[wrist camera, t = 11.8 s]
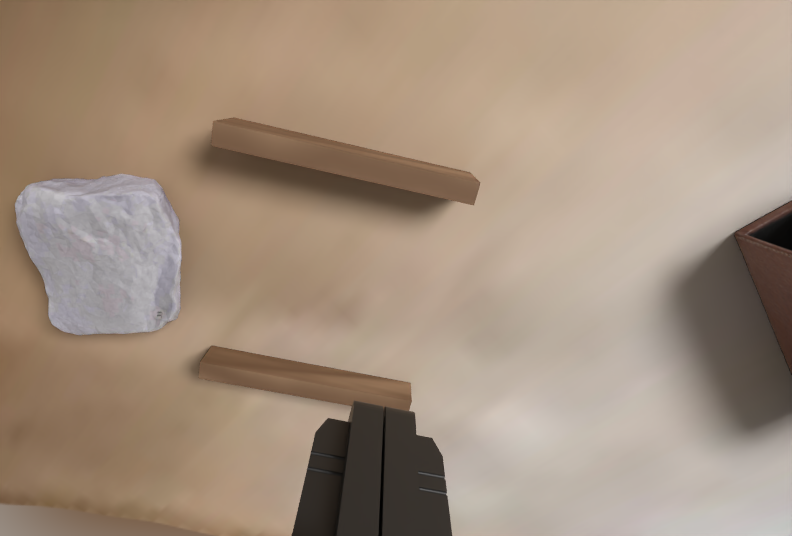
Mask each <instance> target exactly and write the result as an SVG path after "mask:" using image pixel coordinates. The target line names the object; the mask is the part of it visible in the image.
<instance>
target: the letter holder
mask: <svg viewBox="0 0 792 536" xmlns="http://www.w3.org/2000/svg"><path fill="white" fill-rule="evenodd" d="M734 234H735V238H736V239H737V242H738V245H739V247H740V250H741V252H742V254H743V257H744V259H745V261H746V265H747V266H748V269H749V271H750V274H751V276H752V278H753V281H754V283H755V286H756V289H757V290H758V293H759V295H760V298H761V301H762V303H763V305H764V308H765V311H766V313H767V315H768V318H769V320H770V323H771V325H772V328H773V330H774V333H775V335H776V337H777V340H778V343H779V345H780V347H781V350H782V352H783V354H784V357H785V360H786V362H787V364H788V366H789V369H790V371H791V374H792V201H791V202H789V203H787V204H785V205H783V206H782V207H780V208H778V209H776V210H775V211H773V212H770V213H769V214H767V215H765V216H764V217H762V218H760V219H758V220H756V221H755V222H753V223H751V224H749V225H747V226H745V227H744V228H742V229H740V230H738V231H736V232H735V233H734Z"/></svg>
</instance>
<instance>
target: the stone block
mask: <svg viewBox="0 0 792 536" xmlns="http://www.w3.org/2000/svg"><path fill="white" fill-rule="evenodd" d="M15 211H16V215H17V222H16V223H17V226H18V229H19V231H20V235H21V237H22V239H23V242H24V245H25V248H26V249H27V251H28V254H29V256H30V258H31V259H32V261H33V263H34V264H35V265H36V267H37V268H38V270H39V272H40V274H41V276H42V278H43V280H44V283H45V290H46V293H47V295H48V297H49V310H48V315H49V319H50V321H51V323H52V325H54V326H55V327H56V328H58V329H60V330H62V331H64V332H68V333H72V334H76V335H83V334H87V335H91V334H102V333H104V334H112V333H120V334H127V333H139V332H150V331H155V330H158V329H161V328H162V327H164V326H165V325H166V323H167V322H170V321H173V320H176V319H177V318H178V314H179V312H180V309H181V307H180V280H181V276H180V273H181V272H180V266H181V261H182V258H181V240H180V236H179V218H178V217H177V216H176V214H175V212H174V210H173V208H172V206H171V204H170V202H169V200H168V199H167V197H166V195H165V193H164V191H163V188H162V187H161V186H160V185H159V184H158V183H157V181H155V180H153V179H149V178H141V177H136V176H132V175H126V174H119V175H114V176H108V177H105V176H103V177H101V178H99V179H96V180H92V179H90V180H86V179H52V180H48V181H40V182H37V183H32V184H29V185H27V186H26V187H25V190H24V191H22V193H21V194H20V195H19V196H18V198H17V201H16V203H15Z"/></svg>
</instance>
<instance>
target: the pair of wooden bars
mask: <svg viewBox="0 0 792 536" xmlns="http://www.w3.org/2000/svg"><path fill="white" fill-rule="evenodd" d="M211 146H214V147H218V148H223V149H227V150H232V151H236V152H240V153H245V154H249V155H254V156H258V157H263V158H267V159H271V160H276V161H280V162H285V163H289V164H293V165H298V166H302V167H307V168H311V169H316V170H320V171H324V172H329V173H333V174H338V175H342V176H346V177H351V178H355V179H360V180H364V181H369V182H373V183H377V184H382V185H386V186H391V187H395V188H400V189H404V190H408V191H413V192H417V193H422V194H426V195H430V196H435V197H439V198H444V199H448V200H453V201H457V202H461V203H466V204H470V205H474V203H475V200H476V196H477V193H478V190H479V186H480V182H479V181H478V180H477V179H476V178H475V177H474V176H473V175H472V174H471V173H470V172H465V171H461V170H457V169H453V168H448V167H444V166H440V165H435V164H431V163H427V162H422V161H418V160H414V159H410V158H405V157H401V156H397V155H392V154H388V153H384V152H380V151H375V150H371V149H367V148H362V147H358V146H354V145H349V144H345V143H341V142H337V141H332V140H328V139H324V138H319V137H315V136H311V135H307V134H302V133H298V132H294V131H289V130H285V129H281V128H276V127H272V126H268V125H264V124H259V123H255V122H251V121H246V120H242V119H238V118H229V119H223V120H217V121H213V128H212V140H211ZM199 378H200V379H206V380H211V381H217V382H222V383H228V384H234V385H239V386H245V387H250V388H256V389H261V390H267V391H272V392H278V393H283V394H289V395H294V396H300V397H305V398H311V399H317V400H322V401H328V402H333V403H339V404H344V405H350V406H352V405H353V401H354V400H355V401H360V402H365V403H370V404H375V405H380V406H383V409H384V407H385V406H386V407H391V408H396V409H401V410H406V411H409V409H410V405H411V402H412V398H411V384H410V383H408V382H403V381H397V380H392V379H387V378H381V377H376V376H371V375H365V374H360V373H355V372H349V371H344V370H339V369H333V368H328V367H323V366H317V365H312V364H307V363H301V362H296V361H291V360H285V359H280V358H275V357H269V356H264V355H259V354H253V353H248V352H243V351H237V350H232V349H227V348H221V347H216V346H211V347H210V349H209V350H208V352H207V353H206V354H205V356H204V357H203V359H202V360H201V362H200V368H199Z"/></svg>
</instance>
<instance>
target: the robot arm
mask: <svg viewBox="0 0 792 536" xmlns="http://www.w3.org/2000/svg"><path fill="white" fill-rule="evenodd" d="M444 477H445V473H444V465H443V456H442V455H441V453H440V451H439V449H438V448H437V446H436V444H435V442H434V441H433V439H432V438H429V437H424V436H418V435H416V422H415V413H414V412H411V411H406V410H401V409H396V408H391V407H386V406H385V407H384V409H383V406H380V405H375V404H370V403H365V402H360V401H355V400H354V401H353V405H352V408H351V412H350V416H349V420H348V422H345V421H340V420H335V419H330V418H328V419H327V420H326V421H325V422H324V423H323V425H322V426H321V427H320V428H319V429H318V430H317V431H316V433H315V438H314V442H313V446H312V451H311V455H310V459H309V464H308V468H307V472H306V477H305V481H304V486H303V490H302V494H301V499H300V503H299V507H298V512H297V516H296V520H295V525H294V529H293V533H292V536H452V531H451V522H450V514H449V506H448V498H447V496H446V493H447V489H446V481H445V479H444Z"/></svg>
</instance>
